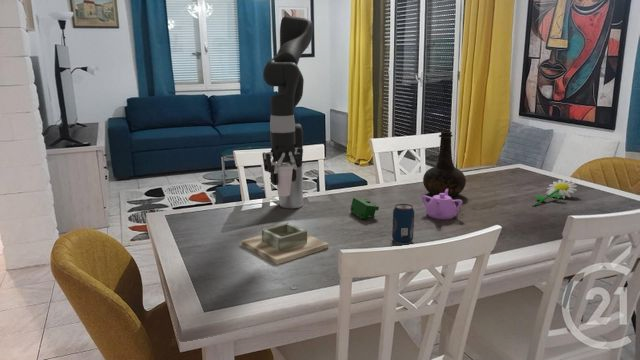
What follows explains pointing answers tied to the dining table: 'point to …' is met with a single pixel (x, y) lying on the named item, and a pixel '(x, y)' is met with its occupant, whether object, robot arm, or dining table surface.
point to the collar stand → (284, 243)
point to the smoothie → (284, 179)
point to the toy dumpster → (363, 208)
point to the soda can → (403, 223)
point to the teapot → (441, 206)
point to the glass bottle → (444, 171)
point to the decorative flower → (558, 190)
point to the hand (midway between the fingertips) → (283, 182)
